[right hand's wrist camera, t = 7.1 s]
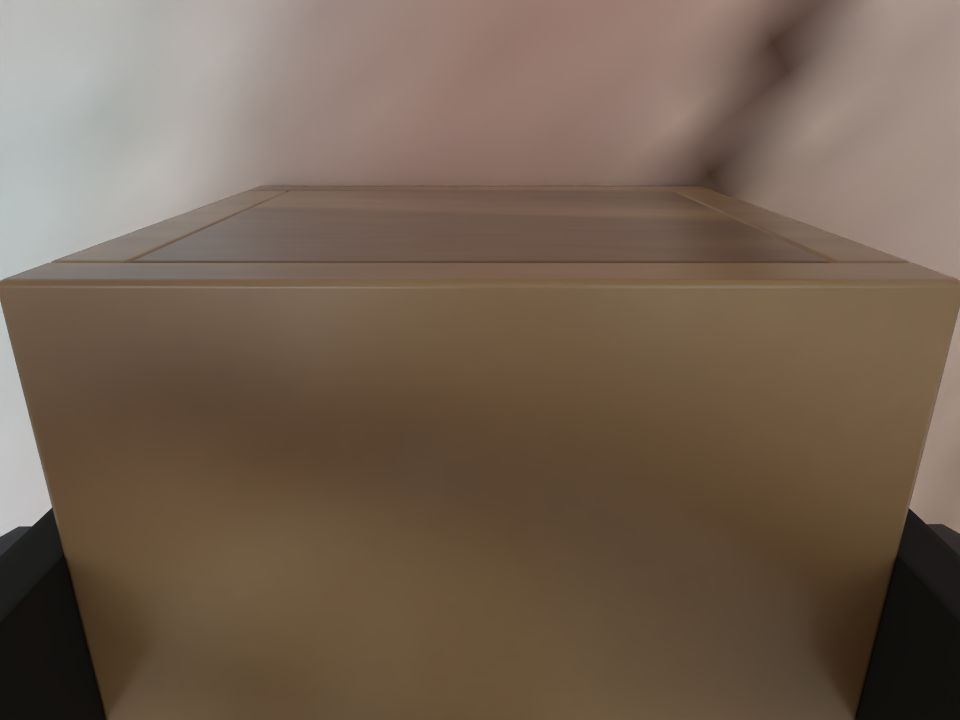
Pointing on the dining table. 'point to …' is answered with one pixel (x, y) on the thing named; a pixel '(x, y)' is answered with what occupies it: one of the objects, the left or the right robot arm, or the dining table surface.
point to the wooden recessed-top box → (480, 453)
